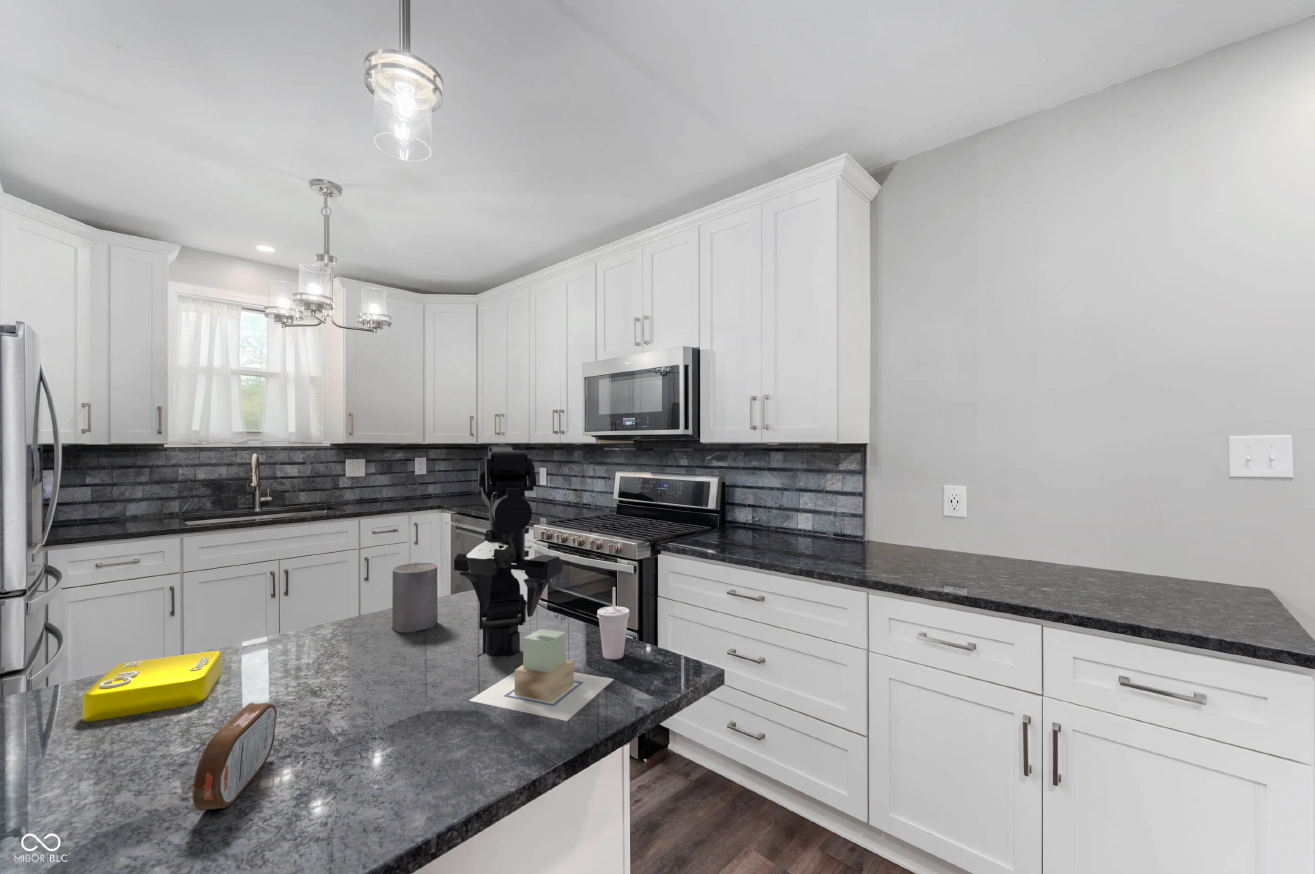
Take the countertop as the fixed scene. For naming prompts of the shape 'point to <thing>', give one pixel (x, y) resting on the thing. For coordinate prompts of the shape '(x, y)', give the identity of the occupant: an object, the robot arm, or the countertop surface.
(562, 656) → the sage block
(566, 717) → the white mat
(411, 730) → the countertop surface
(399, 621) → the pillar candle
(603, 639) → the smoothie
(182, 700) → the element tile
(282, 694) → the countertop surface
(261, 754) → the tin
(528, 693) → the maple block
